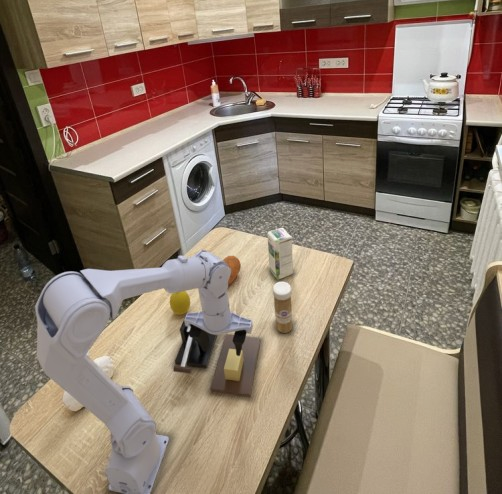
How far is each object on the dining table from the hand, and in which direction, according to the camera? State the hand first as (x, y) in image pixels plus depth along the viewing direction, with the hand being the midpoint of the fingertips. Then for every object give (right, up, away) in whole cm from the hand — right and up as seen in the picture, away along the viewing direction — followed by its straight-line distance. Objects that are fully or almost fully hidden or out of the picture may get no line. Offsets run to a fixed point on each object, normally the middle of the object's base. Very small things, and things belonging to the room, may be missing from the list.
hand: (222, 349), depth 77 cm
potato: (-2, +4, +31) cm, 31 cm away
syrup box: (+16, +7, +33) cm, 37 cm away
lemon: (-13, -1, +21) cm, 25 cm away
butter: (+3, -7, +3) cm, 8 cm away
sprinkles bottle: (+15, -2, +14) cm, 21 cm away
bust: (-31, -11, +3) cm, 33 cm away
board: (+3, -7, +6) cm, 9 cm away
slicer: (-7, -5, +10) cm, 14 cm away
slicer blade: (-8, -3, +5) cm, 10 cm away
